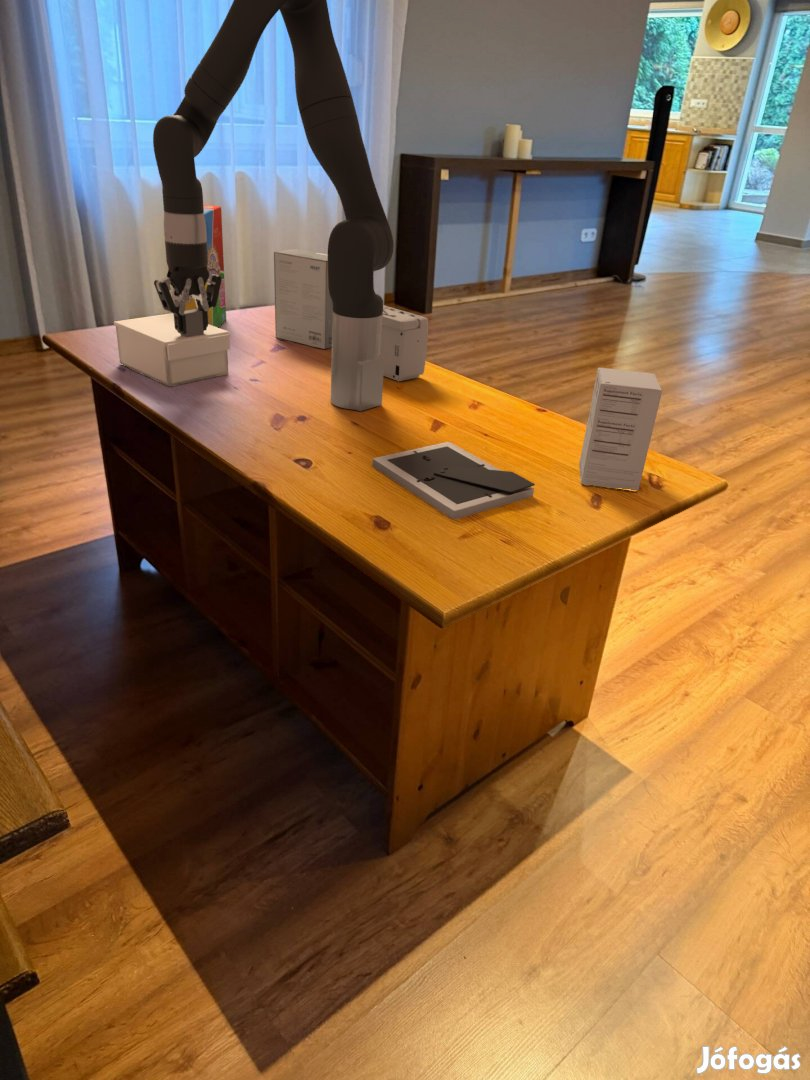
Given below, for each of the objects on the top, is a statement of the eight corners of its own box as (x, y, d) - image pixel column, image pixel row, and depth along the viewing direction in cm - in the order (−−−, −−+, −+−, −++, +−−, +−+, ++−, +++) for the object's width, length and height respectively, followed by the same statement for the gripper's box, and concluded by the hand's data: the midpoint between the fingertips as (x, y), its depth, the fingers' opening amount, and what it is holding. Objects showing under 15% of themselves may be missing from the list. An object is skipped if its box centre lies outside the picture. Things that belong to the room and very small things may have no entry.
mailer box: (228, 374, 158) (226, 335, 154) (169, 387, 148) (165, 346, 144) (178, 353, 168) (175, 316, 164) (120, 364, 158) (115, 325, 154)
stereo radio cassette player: (425, 378, 165) (434, 282, 155) (399, 385, 159) (406, 286, 149) (359, 355, 177) (362, 265, 167) (332, 360, 171) (334, 268, 161)
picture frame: (532, 500, 117) (447, 452, 131) (534, 483, 116) (449, 437, 130) (452, 524, 108) (371, 470, 123) (455, 506, 107) (372, 453, 121)
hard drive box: (344, 344, 183) (347, 257, 174) (325, 350, 178) (326, 261, 168) (294, 331, 190) (293, 247, 180) (273, 337, 184) (272, 250, 175)
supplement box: (639, 493, 120) (664, 390, 112) (579, 486, 121) (600, 383, 113) (633, 469, 128) (656, 372, 120) (578, 462, 129) (597, 365, 121)
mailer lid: (231, 349, 155) (229, 309, 151) (168, 361, 145) (164, 319, 141) (177, 328, 165) (174, 291, 161) (115, 338, 155) (111, 298, 152)
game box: (206, 341, 178) (199, 215, 165) (183, 339, 178) (173, 213, 164) (226, 319, 196) (221, 205, 183) (205, 318, 196) (198, 203, 183)
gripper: (163, 244, 134) (171, 341, 142) (229, 239, 143) (233, 330, 152) (140, 237, 138) (149, 332, 147) (206, 233, 148) (211, 322, 156)
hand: (192, 331), depth 149 cm, fingers closed on mailer lid, 4 cm apart
